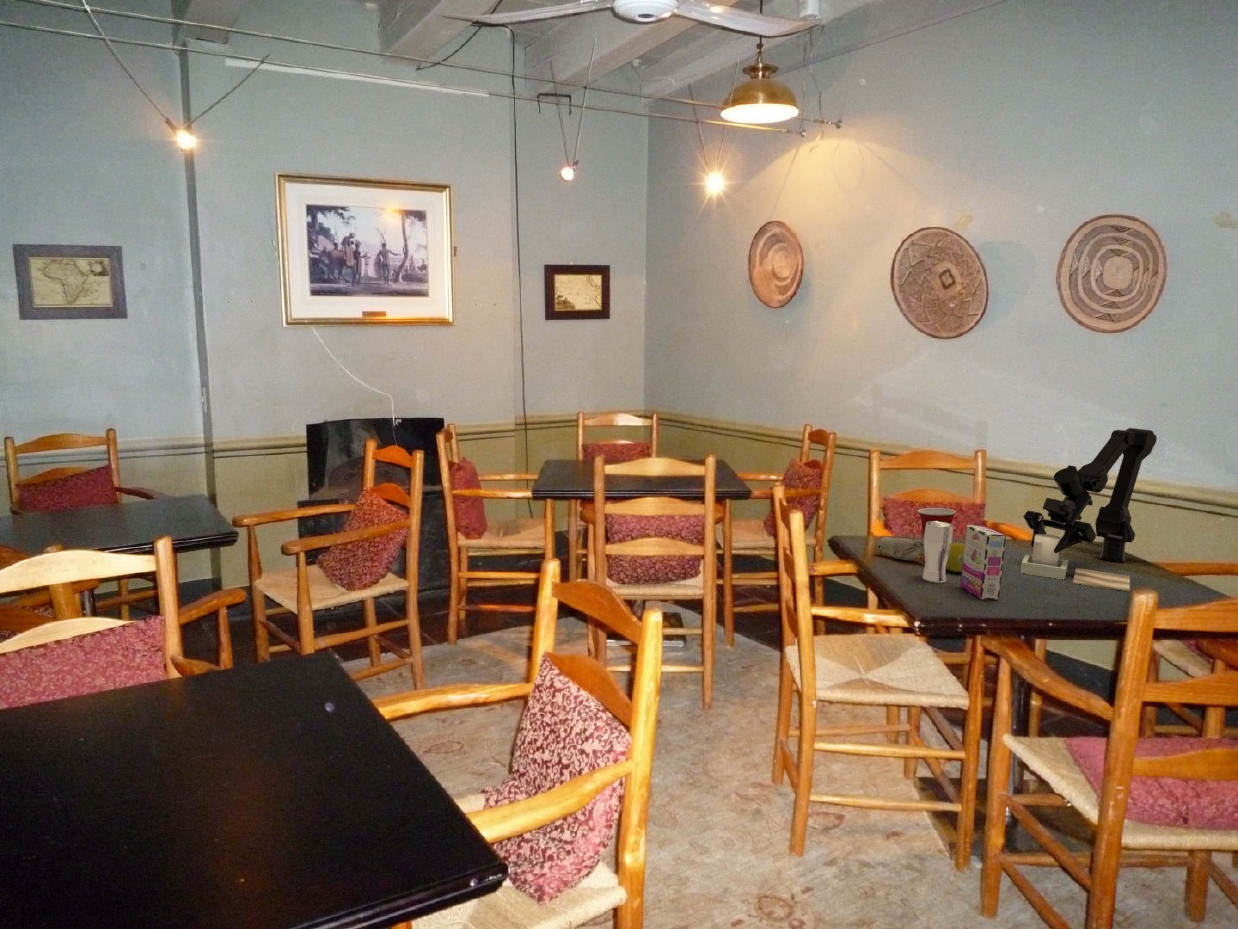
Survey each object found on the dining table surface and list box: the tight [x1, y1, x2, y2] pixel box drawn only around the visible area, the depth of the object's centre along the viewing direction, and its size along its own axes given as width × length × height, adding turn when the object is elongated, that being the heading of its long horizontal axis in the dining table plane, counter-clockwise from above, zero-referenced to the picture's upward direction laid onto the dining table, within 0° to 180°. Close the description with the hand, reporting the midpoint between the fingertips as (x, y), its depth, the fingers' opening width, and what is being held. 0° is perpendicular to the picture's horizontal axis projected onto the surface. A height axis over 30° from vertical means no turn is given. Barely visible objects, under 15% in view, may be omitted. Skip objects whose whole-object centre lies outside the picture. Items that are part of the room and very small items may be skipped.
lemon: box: [946, 542, 965, 573], centre depth 235 cm, size 11×8×8 cm
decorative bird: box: [875, 536, 925, 567], centre depth 245 cm, size 5×16×8 cm, turn 47°
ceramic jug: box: [1032, 534, 1062, 567], centre depth 237 cm, size 8×6×10 cm
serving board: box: [1072, 567, 1131, 593], centre depth 232 cm, size 16×13×1 cm
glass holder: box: [1020, 554, 1069, 581], centre depth 238 cm, size 11×11×3 cm
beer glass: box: [921, 521, 954, 584], centre depth 226 cm, size 7×7×15 cm
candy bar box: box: [960, 524, 1007, 601], centre depth 215 cm, size 11×5×16 cm, turn 5°
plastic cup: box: [917, 507, 957, 540], centre depth 260 cm, size 11×11×12 cm
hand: (1043, 549), depth 237 cm, fingers closed on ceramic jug, 6 cm apart
